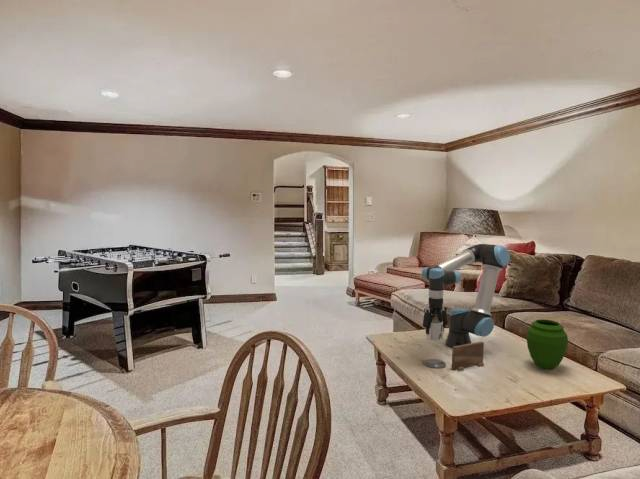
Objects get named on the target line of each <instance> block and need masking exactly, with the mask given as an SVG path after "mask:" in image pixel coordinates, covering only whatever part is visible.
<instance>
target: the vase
mask: <svg viewBox="0 0 640 479" xmlns="http://www.w3.org/2000/svg"><path fill="white" fill-rule="evenodd" d="M525 336H526V337H525V338H526V344H527V349H528V353H529V356H530V358H531V360H532V361H533V362H534V364H535V366H536V367H538V368H540V369H542V370H548V371H550V370H551V371H552V370H555V369H556V368H557V367H558V366H559V365H560V364H561V363H562V361H563V359H564V357H565V356H566V353H567V350H568V349H567V348H568V345H569V338H568V333H567V332H566V331H565V330H564V326H563V325H562V324H560V323H559V322H558V321H556V320H550V319H537V320H534V321H533V322H531V326H529V327H528V329H527V331H526V335H525Z"/></svg>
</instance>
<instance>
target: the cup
mask: <svg viewBox="0 0 640 479" xmlns="http://www.w3.org/2000/svg"><path fill="white" fill-rule="evenodd" d="M442 327H443V321H442V322H439V320H438V318H436V319H435V318H433V320H432V323H431V326H430V328H431V341H434V342H436V341H438V342H439V341H440V339H441V338H440V337H441V333H442Z"/></svg>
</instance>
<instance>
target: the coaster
mask: <svg viewBox="0 0 640 479" xmlns="http://www.w3.org/2000/svg"><path fill="white" fill-rule="evenodd" d="M422 364H423V366H425V367H427V368H430V369H438V370H439V369H443V368H446V366H447V363H446V362H445V361H443V360H441V359H439V358H438V359H437V358H427V359H424V360H423V361H422Z"/></svg>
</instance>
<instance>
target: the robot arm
mask: <svg viewBox="0 0 640 479" xmlns="http://www.w3.org/2000/svg"><path fill="white" fill-rule="evenodd" d="M510 260H511V254H510V251H509V249H508V247H506V246H504V245H499V244H490V243H489V244H488V243H477V244H475V245H472V246H470V247H467V248H466V249H463V250H462V252H461V253H458V254H457V255H454V256H453V257H450V258H449V259H447V260H444V261H441V263H438V264H436V265H434V266H432V267H431V266H425V267H424V268H423V269H422V270H421V277H422V279H423V280H426V281H428V305H429V306H428V308H424V309H423V319H422V320H423V321H422V327H423V328H425V335H426V336H425V339H426V340H427V341H430V342H431V341H432V340H431V328H430V326H431V323H432V320H433V319H434V318H435V317H436V316H437V320H439V322H442V321H443V327H442V333H441V337H440V339H444V331H445V327H446V326H447V325H448V334H447V336H446V340H445V345H446V346H447V347H449V348H451V349H452V347H455V346H460V345H465V344H470V343H472V341H471V337H470V334H473V335H475V336H479V337H483V338H484V337H487V336H489V335H490V334H491V333H492V332H493V330H494V328H495V321H494V319H493V318H492V316H493V315H492V313H491V307H492V303H493V301H494V300H493V299H494V295H495V291H496V287H497V283H498V278H499V274H500V272H501V271H504V270H503V269H504V267H506V266H508V265H509V263H510V262H511V261H510ZM474 263H475V264H476V263H479V264H481V263H482V264H481V266H482V267H483V270H482V275H481V278H480V283H479V287H478V291H477V295H476V299H475V304H474V307H473V308H471V309H470V308H468V307H454V308H451V309H450V310H449V315H448V316H449V317H447V310H448V308H447V307H446V306H443V305H444V286H451V285H452V286H453V285H457V284H459V283H460V282H461V274H460V273H459V271H457V270H459V269H462V267H465V266H466V265H472V264H474Z"/></svg>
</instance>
